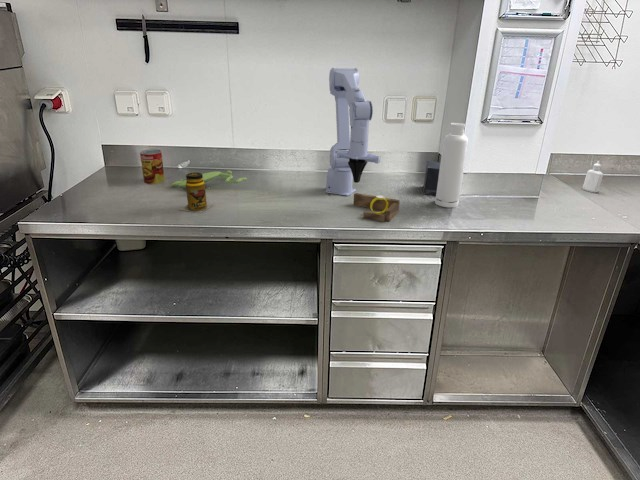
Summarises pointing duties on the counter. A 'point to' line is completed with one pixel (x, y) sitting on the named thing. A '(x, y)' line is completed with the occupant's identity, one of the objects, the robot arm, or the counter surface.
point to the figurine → (211, 176)
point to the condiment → (195, 193)
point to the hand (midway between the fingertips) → (356, 181)
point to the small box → (431, 177)
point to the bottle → (452, 166)
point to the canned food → (152, 166)
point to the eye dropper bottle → (593, 179)
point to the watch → (379, 199)
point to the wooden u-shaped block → (377, 207)
